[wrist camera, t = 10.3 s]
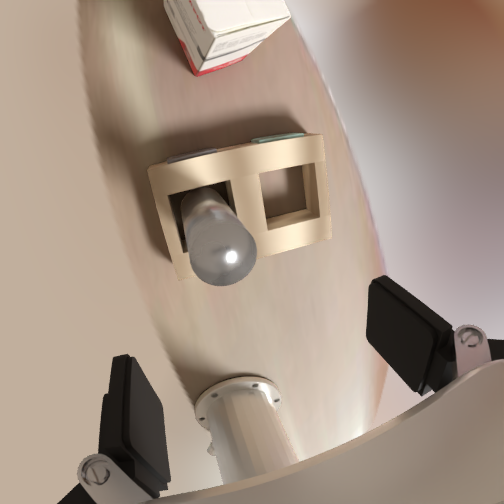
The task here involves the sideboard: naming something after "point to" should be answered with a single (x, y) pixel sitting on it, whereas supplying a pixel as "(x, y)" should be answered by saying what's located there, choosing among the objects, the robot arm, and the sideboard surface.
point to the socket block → (248, 191)
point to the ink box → (223, 29)
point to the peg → (216, 238)
